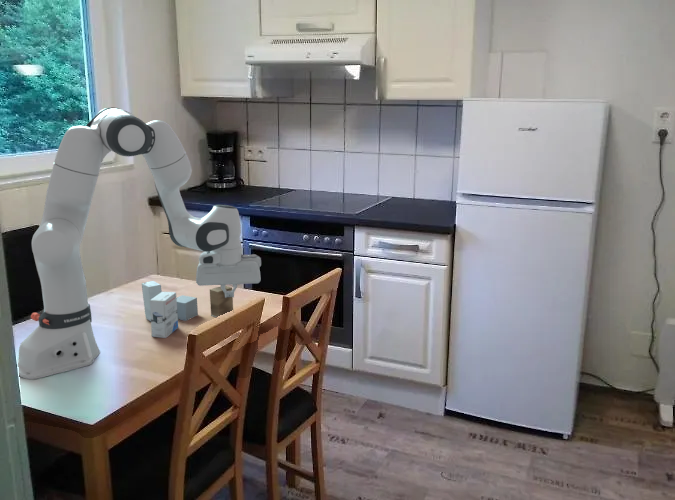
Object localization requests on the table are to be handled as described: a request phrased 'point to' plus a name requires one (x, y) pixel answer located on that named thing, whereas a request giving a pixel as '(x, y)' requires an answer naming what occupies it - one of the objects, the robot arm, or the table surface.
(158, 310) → the ink box
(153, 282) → the skincare box
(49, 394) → the table surface
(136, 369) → the table surface
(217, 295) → the walnut block
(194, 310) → the slate block
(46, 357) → the robot arm
